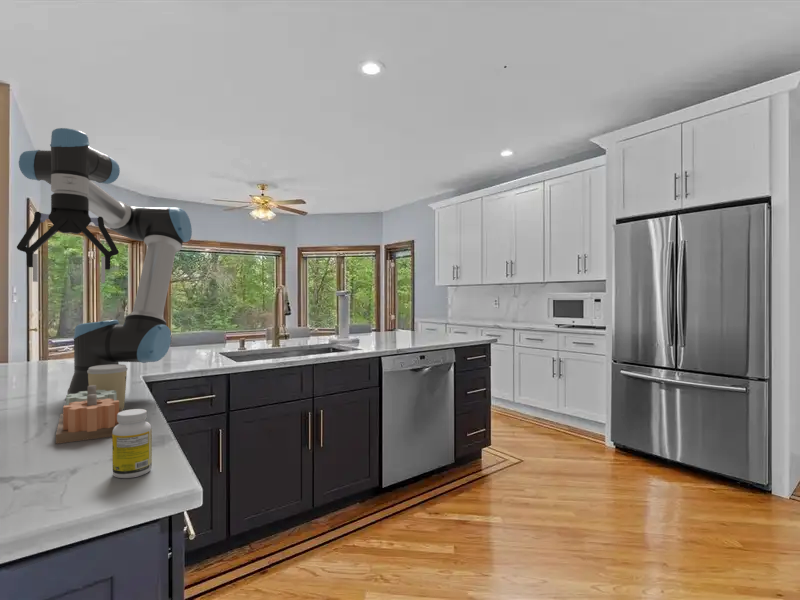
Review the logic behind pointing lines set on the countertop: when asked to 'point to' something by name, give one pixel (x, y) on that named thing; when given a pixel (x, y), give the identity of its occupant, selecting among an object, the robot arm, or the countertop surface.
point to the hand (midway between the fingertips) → (70, 282)
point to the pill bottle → (132, 444)
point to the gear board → (66, 436)
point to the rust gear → (90, 415)
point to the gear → (83, 395)
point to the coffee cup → (109, 379)
